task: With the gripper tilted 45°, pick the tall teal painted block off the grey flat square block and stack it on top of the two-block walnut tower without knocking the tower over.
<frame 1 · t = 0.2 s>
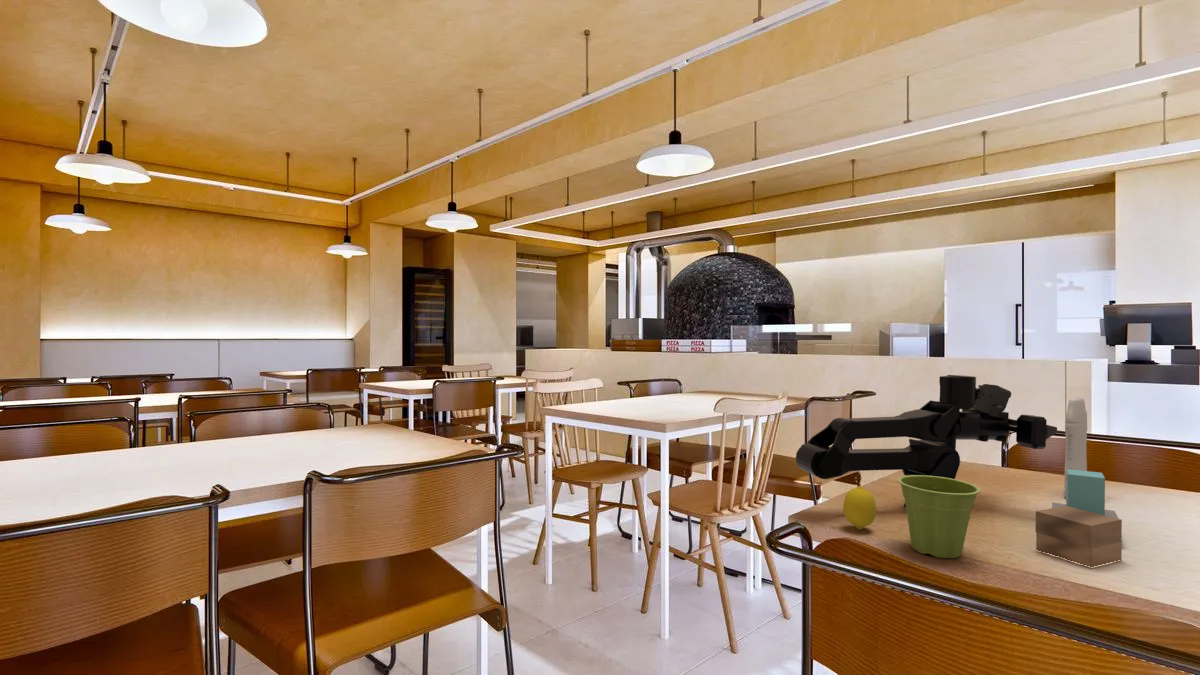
hand: (1036, 426, 125), 17 cm above the table, tool horizontal, fingers open, 9 cm apart
plant pot: (937, 552, 98), on the table
tower lower: (1077, 558, 96), on the table, touching tower upper
lemon: (859, 530, 109), on the table
tall pale column: (1075, 497, 131), on the table
grey flat square block: (1084, 534, 106), on the table
tower upper: (1077, 536, 96), point 3 cm above the table, touching tower lower
teal block: (1084, 512, 106), point 4 cm above the table, touching grey flat square block
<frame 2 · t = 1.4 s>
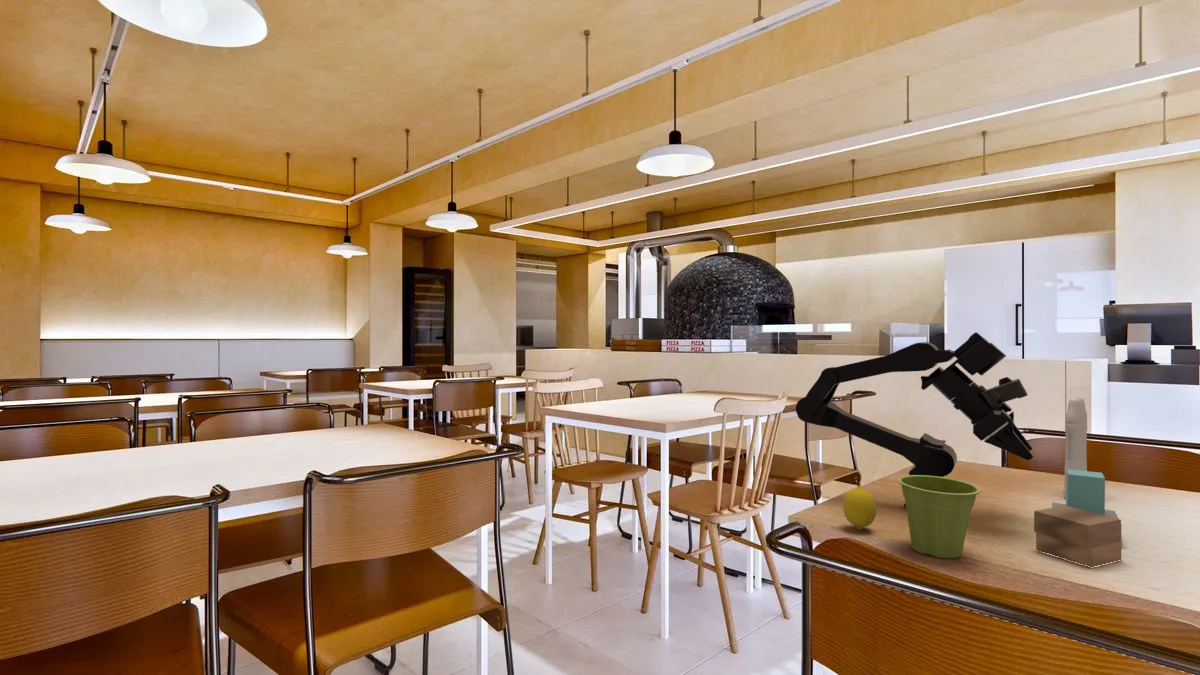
hand: (1030, 454, 111), 13 cm above the table, tool tilted 45°, fingers open, 9 cm apart
nothing on the table moved.
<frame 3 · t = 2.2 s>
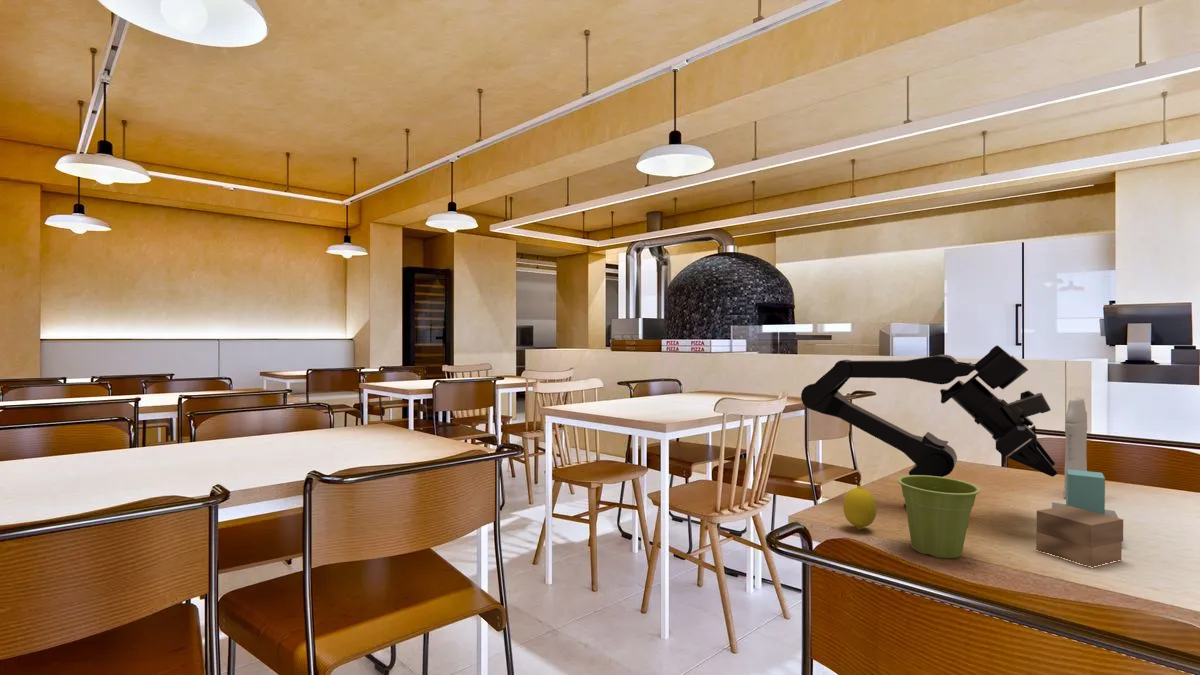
hand: (1054, 470, 109), 11 cm above the table, tool tilted 45°, fingers open, 9 cm apart
nothing on the table moved.
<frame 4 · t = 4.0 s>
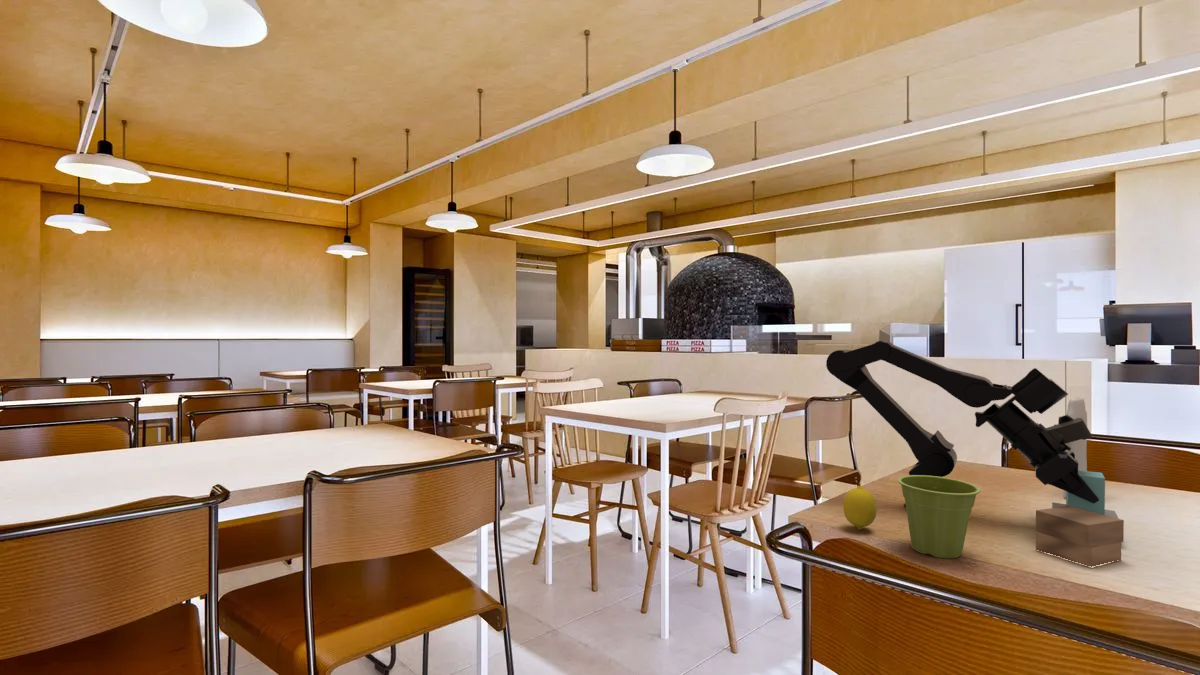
hand: (1095, 498, 105), 7 cm above the table, tool tilted 45°, fingers closed on teal block, 5 cm apart
tower lower: (1077, 557, 96), on the table
tower upper: (1078, 536, 96), point 3 cm above the table
teal block: (1084, 512, 106), point 4 cm above the table, touching grey flat square block, gripper
everything else where it was.
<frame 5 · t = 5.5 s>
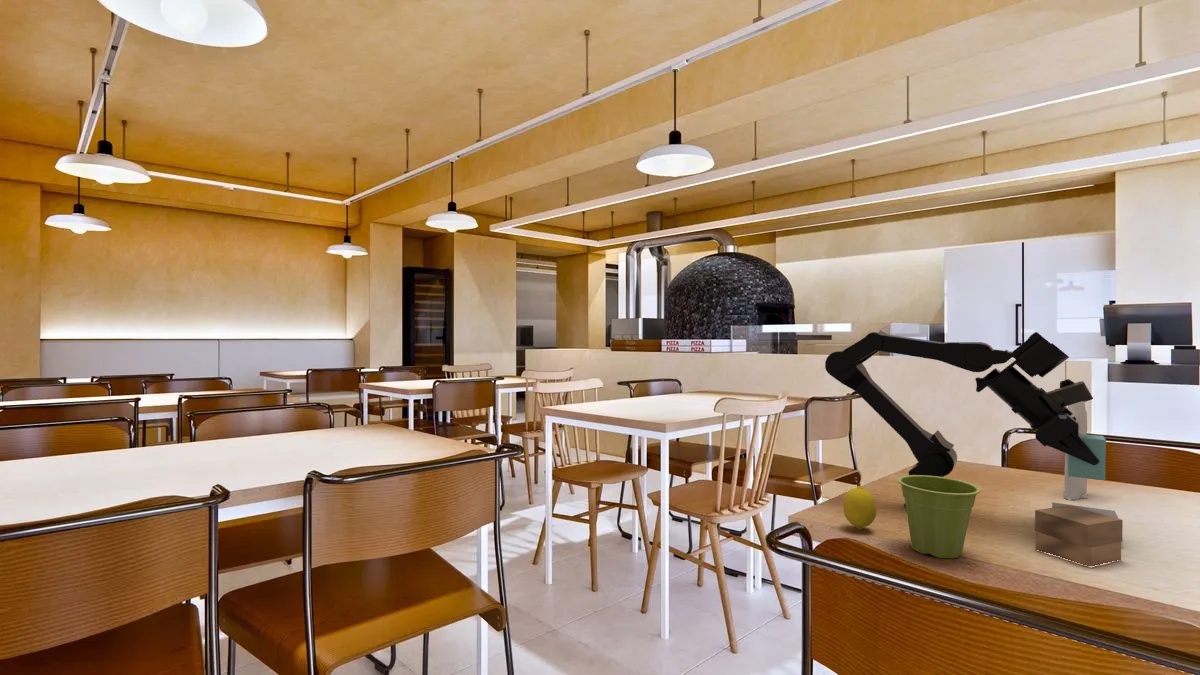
hand: (1095, 460, 105), 14 cm above the table, tool tilted 45°, fingers closed on teal block, 5 cm apart
tower lower: (1077, 557, 96), on the table, touching tower upper
tower upper: (1077, 536, 97), point 3 cm above the table, touching tower lower
teal block: (1085, 475, 106), point 11 cm above the table, touching gripper
everything else where it was.
when the fingers open (11 cm above the table, at t = 7.5 s): teal block drops 1 cm, resting on tower upper.
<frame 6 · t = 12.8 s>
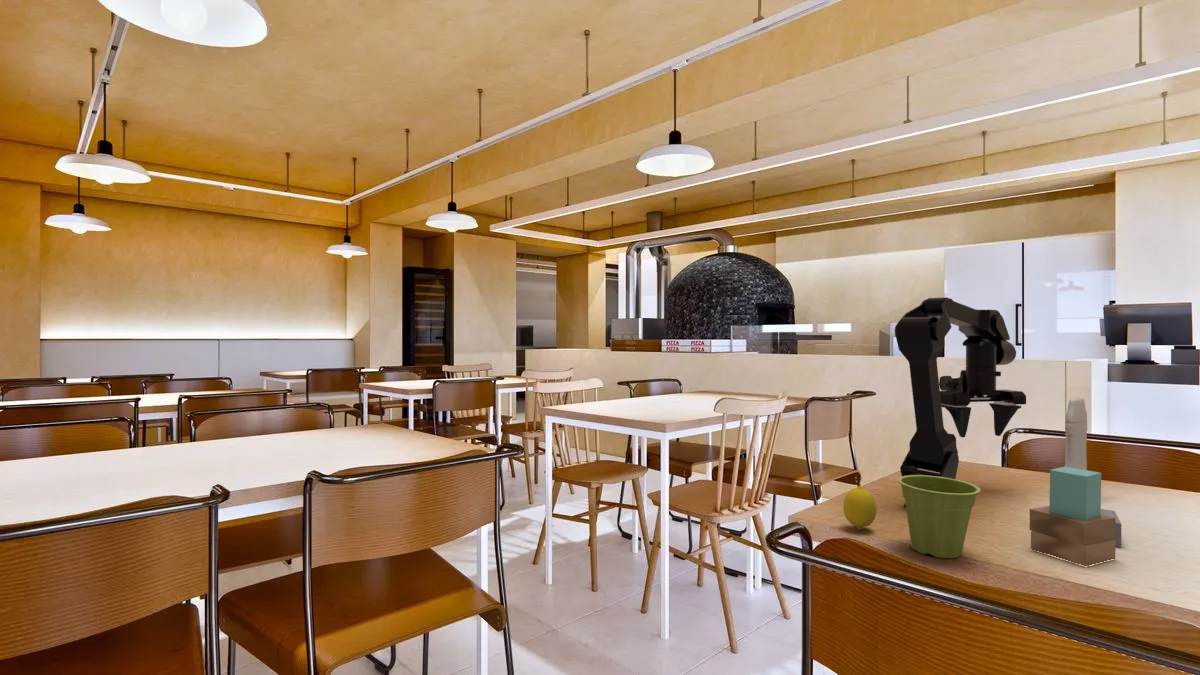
hand: (980, 436, 132), 13 cm above the table, tool pointing down, fingers open, 9 cm apart
tower upper: (1071, 534, 97), point 3 cm above the table, touching teal block, tower lower
teal block: (1074, 514, 96), point 7 cm above the table, touching tower upper
everything else where it was.
at the end: teal block 0.6 cm off-centre on the tower upper, point 3.5 cm above the tower upper's base; teal block tilted 0°; tower upper 0.3 cm off-centre on the tower lower, point 3.5 cm above the tower lower's base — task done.
